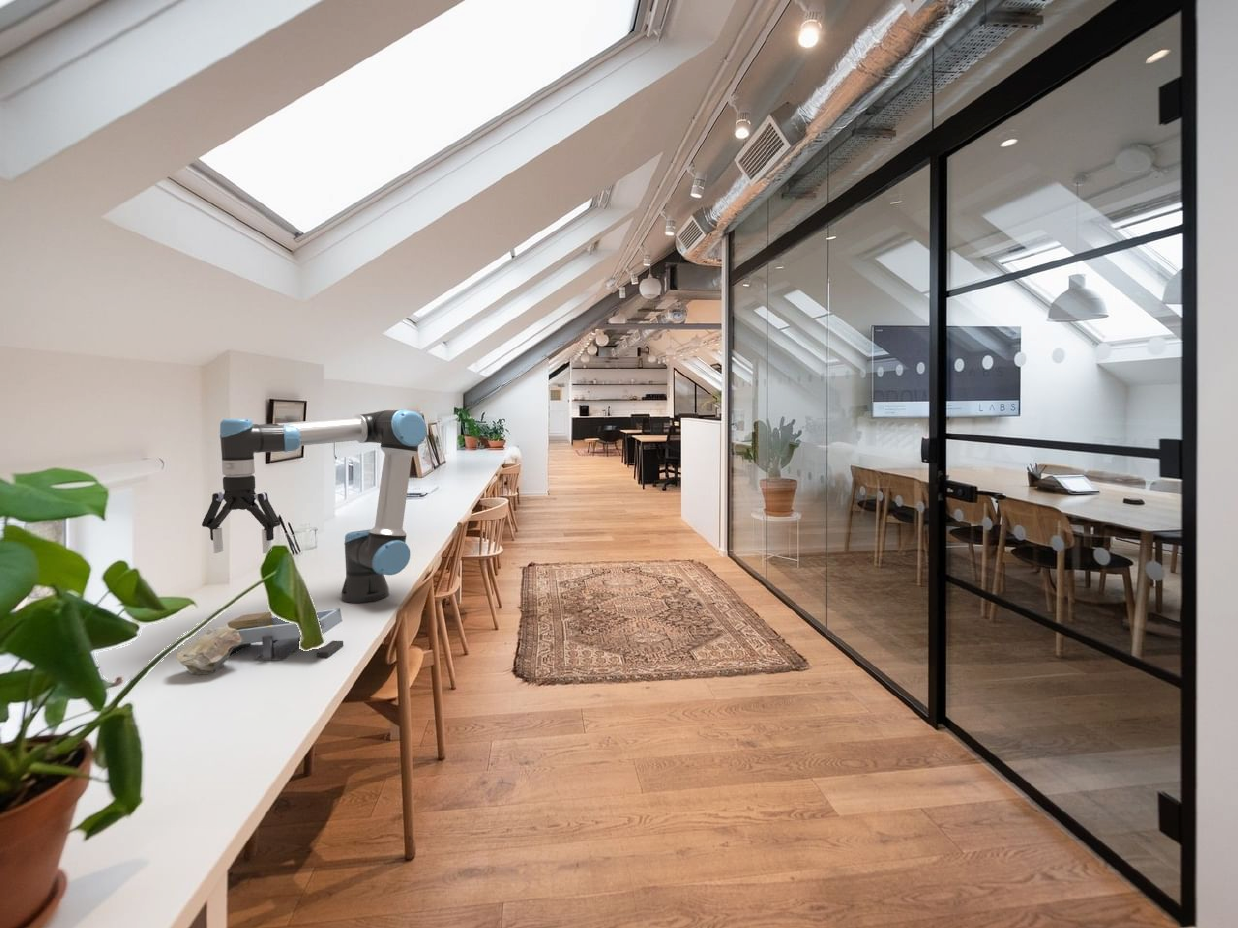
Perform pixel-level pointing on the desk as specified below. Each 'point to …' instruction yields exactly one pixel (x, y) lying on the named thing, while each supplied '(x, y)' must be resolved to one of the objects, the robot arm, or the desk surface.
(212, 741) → the desk surface
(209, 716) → the desk surface
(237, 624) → the brown wooden block
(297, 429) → the robot arm
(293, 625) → the beam
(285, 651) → the fulcrum
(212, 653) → the stone
